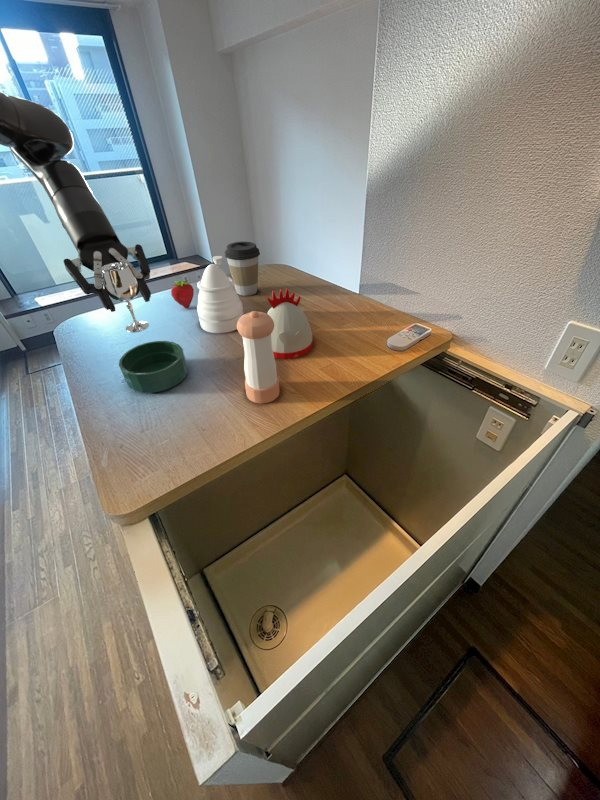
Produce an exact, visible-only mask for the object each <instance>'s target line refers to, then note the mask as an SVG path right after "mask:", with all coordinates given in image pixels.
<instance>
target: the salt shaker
mask: <svg viewBox="0 0 600 800" xmlns="http://www.w3.org/2000/svg"><path fill="white" fill-rule="evenodd" d="M273 329H274V321H273V319H272V318H271V317H270V316H269V315H268V314H267V312H264V311H256V310H252V311H250V312H247V313H244V315H242V316H241V317H240V318H239V320H238V322H237V329H236V330H237V332H238V333H239V335H240V336H241V337H242V344H243V352H244V362H243V371H244V376H245V378H244V387H245V394H246V397H247V399H248V400H250V401H251V402H252V403H255V404H269V403H271V402H273V401H275V400H276V399H277V398H278V397H279V396H280V382H279V380H280V379H279V377H278V375H277V362H276V358H275V357H274V354H273V351H272V342H271V333H272V331H273Z"/></svg>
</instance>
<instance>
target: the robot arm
mask: <svg viewBox="0 0 600 800" xmlns="http://www.w3.org/2000/svg"><path fill="white" fill-rule="evenodd" d="M74 144H75V143H74V137H73V133H72V132H71V130H70V128H69V126H68V125H67V124H66V122H65V121H64V120H63V118H61V117H60V116H59V115H58V114H57V113H55V112H54V111H52V110H51V109H50V108H48V107H46V106H45V105H42V104H40V103H38V102H35V101H32V100H28V99H26V98H25V99H24V98H22V97H17V96H14V95H9V94H5V93H4V92H2V91H0V145H1V146H4V147H7V148H9V149H10V151H11V153H12V154H13V155H14V156H15V157H16V158H17V159H18V160H19V161H20V162H21V163H22V164H23V165H24V166H25V167H26V168H27V169H28V170H29V172H30V173H31V174H32V175H33V176H34V178H35V179H37V181H38V182H39V183H40V185H41V186H42V187H43V189H44V191H45V193H46V195H47V197H48V198H49V200H50V202H51V204H52V205H53V208H54V210H55V213H56V215H57V217H58V219H59V221H60V224H61V226H62V228H64V230H65V232H66V234H67V236H68V238H69V239H70V241H71V243H72V244H73V246H74V248H75V250H76V251H77V254H78V257H76V258H73V259H70V258H65V259H63V264H64V268H65V270H66V272H67V273H68V274H69V276H70V277H71V278H72V280H74V282H75V283H76V284H77V286H78V287H79V288H80V289H81V291H82V292H83V293H84V295H87V296H88V295H91V294H93V295H94V294H95V295H96V296H97V297H98V298H99V300H100V302H101V304H102V305H103V307H104V309H105V310H106V311H108V310H110V312H111V313H113V312H116V306H115V303H114V302H113V301H112V300H113V299H112V298H111V297H110V296H109V295H108V293H107V291H106V290H105V288H104V285H103V282H102V277H101V269H100V268H101V267H102V266H104V265H107V264H110V263H117V262H123V263H127V264H128V265H129V266H130V268H131V269H132V271H133V273H134V275H135V277H136V279H137V281H138V284H139V294H140V295H141V297H142V298H143V300H144V302H145V303H148V302H150V299H151V297H152V291H151V290H150V288H149V286H148V284H147V282H146V281H147V280H149V279H150V278H151V268H150V265H149V263H148V260H147V258H146V257H147V256H146V255H145V251H144V249H143V246H142V245H141V244H138V243H137V244H135V246H134V247H133V246H132V247H127V246H125V245H124V244H123V243H122V242H121V241H120V239H119V237H118V235H117V233H116V231H115V230H114V227H113V226H112V224H111V222H110V221H109V219H108V216H107V215H106V213H105V211H104V209H103V208H102V206H101V204H100V203H99V201H98V200H97V198H96V197H95V195H94V194H93V191H92V190H91V188H90V187H89V184H88V183H87V181H86V180H85V177H84V175H83V174H82V172H81V171H80V169H79V168H78V167H77V166H76V165H74V164H73V163H71V162H70V161H67V160H63V159H64V158H65V157H66V156H67V155H68V154H69V155H70V153H71V152H72V151H73V149H74ZM129 256H131V258H132V259H133V260H134V261H137V264H138V266H139V268H140V271H139V270H138V269H137V268H135V266H134V264H132V263H131V262H130V261H129V260H128V257H129ZM82 266H83V267H85V268H87V269H88V270H90V271H92V272H93V278H94V279H93V280H94V281H93V283H89V282H88V280H87V279H86V278H85V276H84V274H82ZM113 269H118V268H113ZM110 270H111V269H110ZM110 270H108V271H110Z"/></svg>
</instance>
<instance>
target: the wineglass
mask: <svg viewBox="0 0 600 800" xmlns="http://www.w3.org/2000/svg"><path fill="white" fill-rule="evenodd" d="M113 268H118V269H113ZM100 269H101V277H102V282H103V289H105V290H106V291H107V293H108V295H109V297H110V299H111V300H114V301H115V302H119V303H125V304H126V305H125V306H126V308H127V310H128V311H129V312H130V314H131V317H132V320H133V322H131V323H129V324H128V325H127V326H126V327H125V331H126V332H128V333H131V334H134V333H140V332H143V331H145V330H146V329H149V327H150V324H149V322H147V321H143V320H141V321H138V320H137V318H136V317H135V314H134V313H135V312H134V307H133V304H132V302H131V301H133V300H135V299H137V297H138V296H139V294H140V291H139V284H138V281H137V279H136V277H135V275H134V273H133V271H132V269H131V268H130V266H129V265H128V264H127V263H123V262H117V263H110V264H107V265H104V266H102V267H101V268H100ZM110 269H111V270H110ZM108 270H110V271H108Z"/></svg>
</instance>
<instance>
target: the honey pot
mask: <svg viewBox="0 0 600 800" xmlns="http://www.w3.org/2000/svg"><path fill="white" fill-rule="evenodd" d="M212 261H213V263H210V264H209V265H207V267H205V269H204V271H203V274H202V277H201V279H199V281H198V282H197V284H196V286H197V288H198V290H199V291H198V295H197V305H196V310H197V316H198V320H199V324H200V327H201V329H202V330H203V331H205V332H207V333H211V334H226V333H231V332H234V331H236V330H237V322H238V320H239V318H240V317H241V316H242V315H244V314H245V312H244V307H243V302H242V301H241V299H240V295H239V294H237V291H236V290H235V286H234V280H233V279H232V277H230V276H228V275H227V274H226V273H225V271H224V270H223V269H222V268H221V267H220V266H221V265H222V263H223V256H222V255H215V256H212Z"/></svg>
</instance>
